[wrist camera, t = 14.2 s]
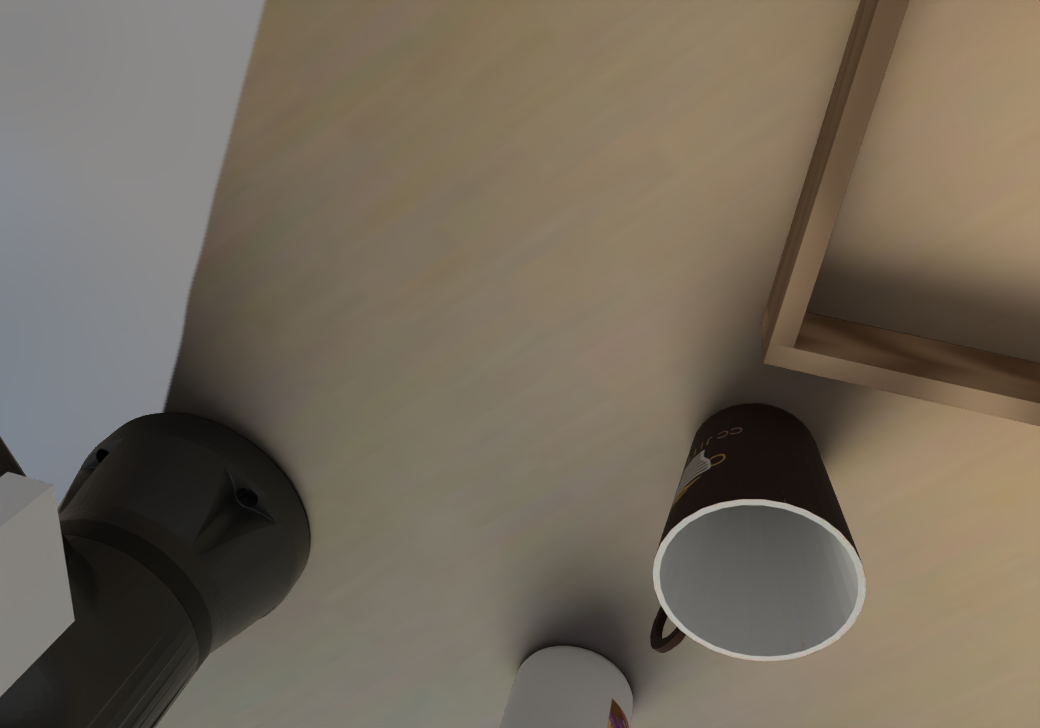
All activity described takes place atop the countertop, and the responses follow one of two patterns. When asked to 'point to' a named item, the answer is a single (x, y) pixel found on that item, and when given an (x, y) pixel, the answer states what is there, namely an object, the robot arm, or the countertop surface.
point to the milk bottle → (568, 692)
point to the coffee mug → (756, 543)
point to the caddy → (786, 323)
